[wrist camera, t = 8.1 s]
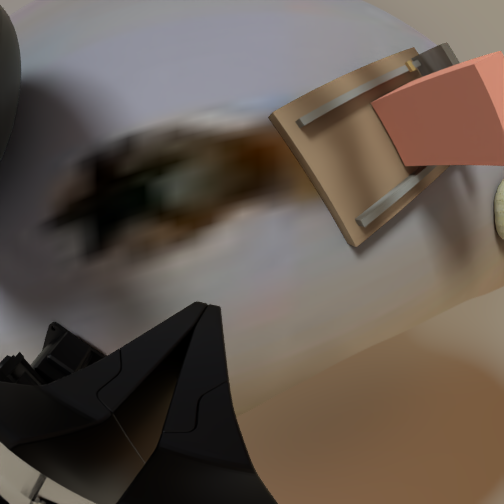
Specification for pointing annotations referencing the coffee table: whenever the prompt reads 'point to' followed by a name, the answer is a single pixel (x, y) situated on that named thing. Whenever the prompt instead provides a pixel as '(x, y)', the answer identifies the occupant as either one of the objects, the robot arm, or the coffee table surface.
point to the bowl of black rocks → (8, 78)
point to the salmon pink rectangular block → (449, 115)
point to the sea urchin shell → (499, 209)
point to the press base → (359, 142)
